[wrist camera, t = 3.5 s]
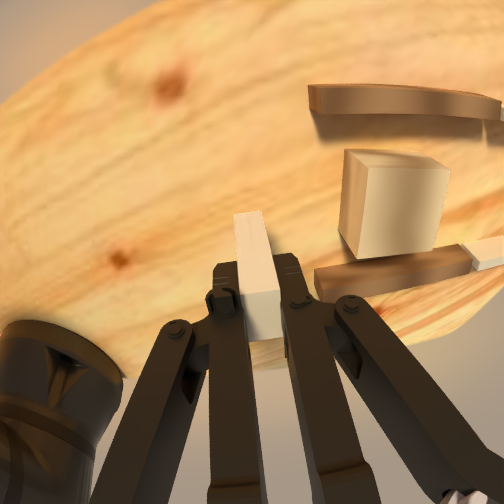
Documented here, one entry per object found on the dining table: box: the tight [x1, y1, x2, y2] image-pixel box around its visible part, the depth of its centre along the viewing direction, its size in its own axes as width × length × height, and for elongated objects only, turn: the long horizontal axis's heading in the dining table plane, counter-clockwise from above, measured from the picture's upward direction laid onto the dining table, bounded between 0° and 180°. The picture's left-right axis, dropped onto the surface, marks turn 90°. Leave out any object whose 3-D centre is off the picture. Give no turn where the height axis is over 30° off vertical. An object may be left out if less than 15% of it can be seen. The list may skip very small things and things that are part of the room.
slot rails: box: [308, 84, 502, 303], centre depth 20 cm, size 14×15×2 cm
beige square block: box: [338, 149, 451, 259], centre depth 20 cm, size 6×6×4 cm
